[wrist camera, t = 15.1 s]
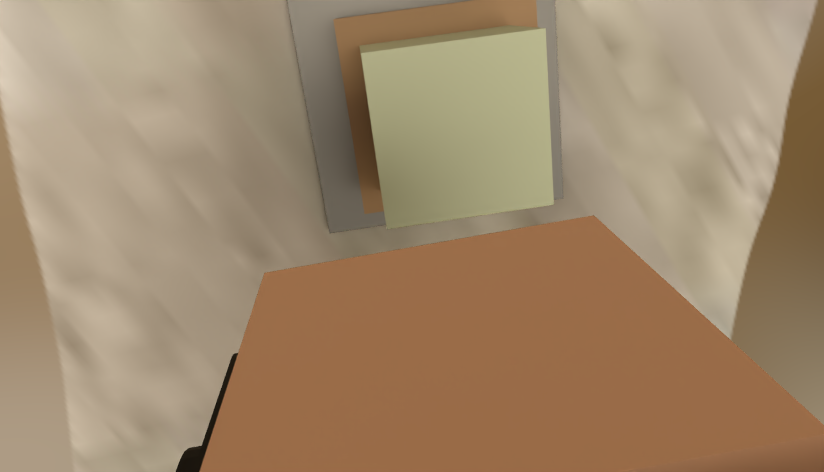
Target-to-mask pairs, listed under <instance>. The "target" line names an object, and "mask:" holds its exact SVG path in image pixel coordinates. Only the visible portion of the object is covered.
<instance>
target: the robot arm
mask: <svg viewBox="0 0 824 472" xmlns="http://www.w3.org/2000/svg"><path fill="white" fill-rule="evenodd" d="M237 356H238V353H236V354H233V356H232V358H231V361H230V364H229V367H228V370H227V373H226V376H225V379H224V382H223V385H222V388H221V391H220V393H219V396H218V399H217V402H216V405H215V408H214V411H213V414H212V417H211V420H210V423H209V426H208V429H207V432H206V435H205V438H204V441H203V444H202V446H198V447H192V448H189V449H187V450H186V451H185V452H184V454H183V455H182V457H181V459H180V462H179V464H178V467H177V470H176V472H200V469H201V466H202V463H203V460H204V457H205V453H206V450H207V447H208V444H209V441H210V438H211V435H212V432H213V429H214V426H215V423H216V420H217V417H218V414H219V411H220V408H221V404H222V401H223V398H224V395H225V392H226V389H227V386H228V383H229V380H230V377H231V374H232V371H233V368H234V365H235V362H236V359H237Z"/></svg>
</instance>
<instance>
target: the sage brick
mask: <svg viewBox="0 0 824 472" xmlns="http://www.w3.org/2000/svg"><path fill="white" fill-rule="evenodd" d="M359 47H360V54H361V60H362V67H363V74H364V81H365V87H366V94H367V101H368V108H369V114H370V121H371V128H372V135H373V141H374V148H375V155H376V162H377V168H378V175H379V182H380V189H381V195H382V202H383V208H384V214H385V220H386V227H387V229H393V228H400V227H407V226H413V225H420V224H427V223H434V222H440V221H447V220H454V219H461V218H467V217H474V216H481V215H488V214H494V213H501V212H508V211H515V210H521V209H528V208H535V207H542V206H548V205H554V195H553V174H552V152H551V131H550V110H549V88H548V67H547V46H546V28H537V27H525V26H512V25H507V26H500V27H493V28H485V29H478V30H470V31H463V32H456V33H448V34H441V35H434V36H426V37H419V38H411V39H404V40H397V41H389V42H382V43H374V44H367V45H360V46H359Z"/></svg>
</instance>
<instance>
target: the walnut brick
mask: <svg viewBox="0 0 824 472" xmlns="http://www.w3.org/2000/svg"><path fill="white" fill-rule="evenodd" d="M333 21H334V27H335V33H336V40H337V46H338V52H339V58H340V64H341V71H342V77H343V83H344V89H345V96H346V102H347V108H348V114H349V120H350V127H351V133H352V139H353V145H354V152H355V158H356V164H357V170H358V176H359V183H360V189H361V195H362V201H363V207H364V214H369V213H376V212H382V211H384V208H383V202H382V195H381V189H380V182H379V175H378V168H377V162H376V155H375V148H374V141H373V135H372V128H371V121H370V114H369V108H368V101H367V94H366V87H365V81H364V74H363V67H362V60H361V54H360V47H359V46H360V45H367V44H374V43H382V42H389V41H397V40H404V39H411V38H419V37H426V36H434V35H441V34H448V33H456V32H463V31H470V30H478V29H485V28H493V27H500V26H507V25H512V26H525V27H537V28H538V25H537V6H536V0H470V1H463V2H455V3H448V4H440V5H433V6H425V7H418V8H411V9H403V10H396V11H388V12H381V13H373V14H366V15H359V16H351V17H344V18H336V19H333Z"/></svg>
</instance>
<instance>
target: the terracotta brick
mask: <svg viewBox="0 0 824 472" xmlns="http://www.w3.org/2000/svg"><path fill="white" fill-rule="evenodd" d="M200 472H824V425H823V424H822V423H821V422H820V421H819V420H818V419H817V418H815V417H814V416H813V415H812V414H811V413H810V412H809V411H808V410H806V409H805V408H804V407H803V406H802V405H801V404H800V403H799V402H798V401H797V400H796V399H795V398H793V397H792V396H791V395H790V394H789V393H788V392H787V391H786V390H785V389H784V388H783V387H781V386H780V385H779V384H778V383H777V382H776V381H775V380H774V379H773V378H772V377H770V376H769V375H768V374H767V373H766V372H765V371H764V370H763V369H762V368H761V367H759V366H758V365H757V364H756V363H755V362H754V361H753V360H752V359H751V358H750V357H749V356H747V355H746V354H745V353H744V352H743V351H742V350H741V349H740V348H739V347H738V346H736V345H735V344H734V343H733V342H732V341H731V340H730V339H729V338H728V337H727V336H726V335H724V334H723V333H722V332H721V331H720V330H719V329H718V328H717V327H716V326H715V325H713V324H712V323H711V322H710V321H709V320H708V319H707V318H706V317H705V316H704V315H702V314H701V313H700V312H699V311H698V310H697V309H696V308H695V307H694V306H693V305H692V304H690V303H689V302H688V301H687V300H686V299H685V298H684V297H683V296H682V295H681V294H679V293H678V292H677V291H676V290H675V289H674V288H673V287H672V286H671V285H670V284H669V283H667V282H666V281H665V280H664V279H663V278H662V277H661V276H660V275H659V274H658V273H656V272H655V271H654V270H653V269H652V268H651V267H650V266H649V265H648V264H647V263H645V262H644V261H643V260H642V259H641V258H640V257H639V256H638V255H637V254H636V253H635V252H633V251H632V250H631V249H630V248H629V247H628V246H627V245H626V244H625V243H624V242H622V241H621V240H620V239H619V238H618V237H617V236H616V235H615V234H614V233H613V232H612V231H610V230H609V229H608V228H607V227H606V226H605V225H604V224H603V223H602V222H601V221H599V220H598V219H597V218H596V217H595V216H594V215H593V216H588V217H582V218H576V219H570V220H565V221H559V222H553V223H548V224H542V225H536V226H530V227H525V228H519V229H513V230H507V231H502V232H496V233H490V234H484V235H479V236H473V237H467V238H461V239H456V240H450V241H444V242H439V243H433V244H427V245H421V246H416V247H410V248H404V249H398V250H393V251H387V252H381V253H375V254H370V255H364V256H358V257H353V258H347V259H341V260H335V261H330V262H324V263H318V264H312V265H307V266H301V267H295V268H289V269H284V270H278V271H272V272H267V273H264V276H263V279H262V282H261V285H260V288H259V291H258V294H257V297H256V300H255V304H254V307H253V310H252V313H251V316H250V319H249V322H248V325H247V328H246V331H245V334H244V337H243V340H242V343H241V346H240V349H239V352H238V356H237V359H236V362H235V365H234V368H233V371H232V374H231V377H230V380H229V383H228V386H227V389H226V392H225V395H224V398H223V401H222V404H221V408H220V411H219V414H218V417H217V420H216V423H215V426H214V429H213V432H212V435H211V438H210V441H209V444H208V447H207V450H206V453H205V457H204V460H203V463H202V466H201V469H200Z"/></svg>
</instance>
